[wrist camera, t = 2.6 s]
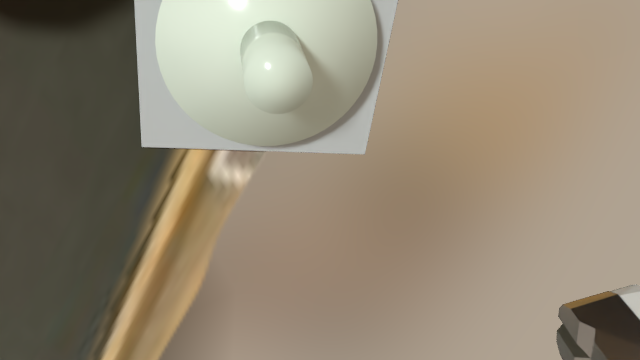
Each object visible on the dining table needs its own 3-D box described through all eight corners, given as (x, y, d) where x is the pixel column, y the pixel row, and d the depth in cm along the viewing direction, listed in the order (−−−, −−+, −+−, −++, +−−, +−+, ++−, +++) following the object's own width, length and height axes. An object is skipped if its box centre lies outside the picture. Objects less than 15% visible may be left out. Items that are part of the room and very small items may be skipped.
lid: (352, 138, 31) (375, 188, 27) (160, 132, 29) (152, 185, 24) (390, -61, 25) (426, -37, 21) (152, -90, 23) (139, -69, 19)
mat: (363, 151, 32) (364, 154, 32) (142, 143, 29) (141, 146, 29) (412, -81, 25) (415, -80, 25) (129, -121, 22) (128, -120, 22)
